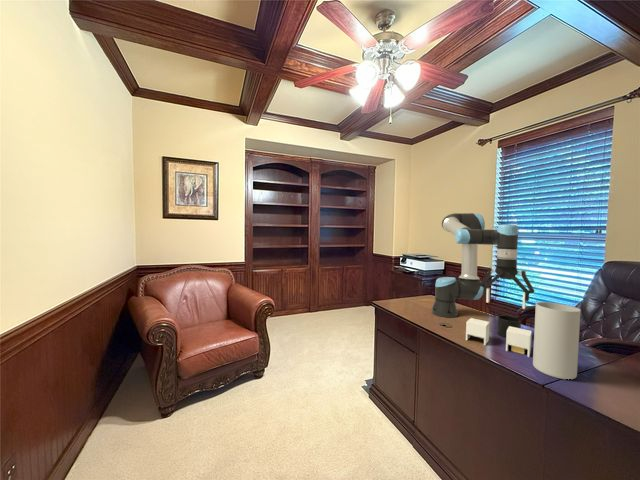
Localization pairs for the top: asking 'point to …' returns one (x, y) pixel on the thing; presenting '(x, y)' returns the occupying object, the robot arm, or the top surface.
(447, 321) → the top surface
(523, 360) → the top surface
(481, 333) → the cover
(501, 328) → the mug
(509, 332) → the cover
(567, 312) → the cylinder vase
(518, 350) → the block
